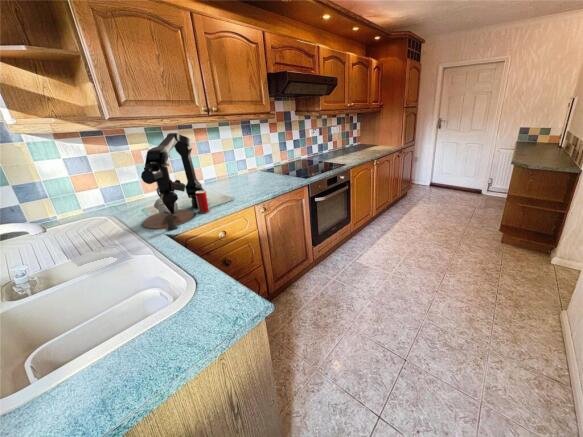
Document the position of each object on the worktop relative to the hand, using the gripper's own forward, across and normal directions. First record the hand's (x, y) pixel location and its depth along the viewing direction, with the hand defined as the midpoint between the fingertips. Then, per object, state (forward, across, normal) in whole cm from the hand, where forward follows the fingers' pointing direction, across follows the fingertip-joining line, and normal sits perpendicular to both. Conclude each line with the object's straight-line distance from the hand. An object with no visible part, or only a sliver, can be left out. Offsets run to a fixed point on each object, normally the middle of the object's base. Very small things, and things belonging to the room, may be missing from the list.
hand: (170, 210), depth 121 cm
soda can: (+9, +13, -18) cm, 24 cm away
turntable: (+9, +13, 0) cm, 16 cm away
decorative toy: (+9, +16, 0) cm, 18 cm away
